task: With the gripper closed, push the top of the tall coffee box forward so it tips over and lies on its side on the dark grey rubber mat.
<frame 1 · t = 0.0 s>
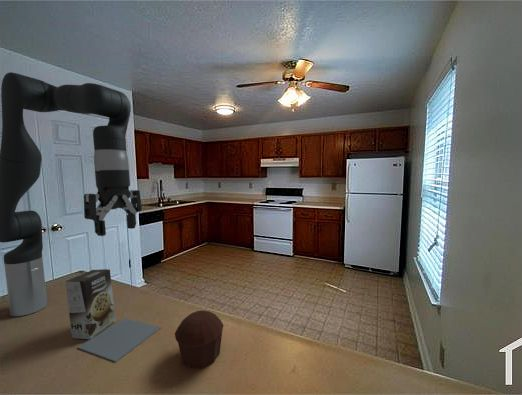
hand: (117, 231, 65), 29 cm above the countertop, tool pointing down, fingers open, 8 cm apart
muffin: (201, 355, 60), on the countertop
coffee box: (95, 329, 72), on the countertop, touching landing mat
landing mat: (121, 337, 68), on the countertop
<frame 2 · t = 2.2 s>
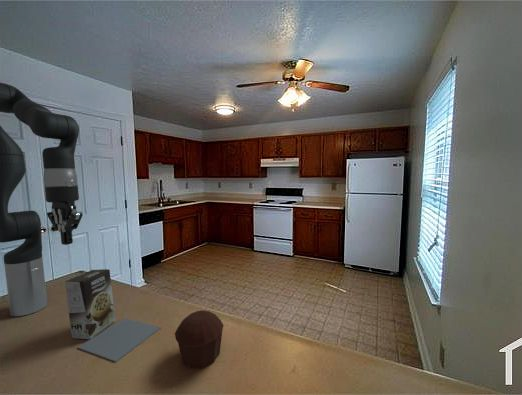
hand: (67, 243, 73), 24 cm above the countertop, tool pointing down, fingers closed
nothing on the countertop moved.
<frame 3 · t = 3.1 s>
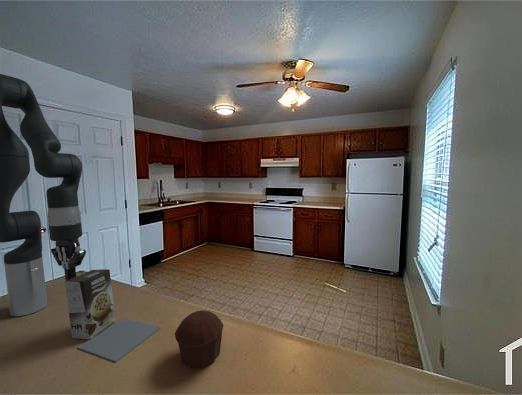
hand: (71, 280, 74), 14 cm above the countertop, tool pointing down, fingers closed
nothing on the countertop moved.
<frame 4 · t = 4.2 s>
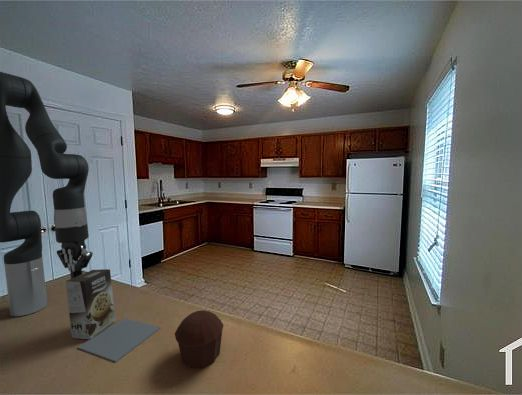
hand: (77, 282, 73), 13 cm above the countertop, tool pointing down, fingers closed
coffee box: (95, 329, 72), on the countertop, touching gripper, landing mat
everything else where it was.
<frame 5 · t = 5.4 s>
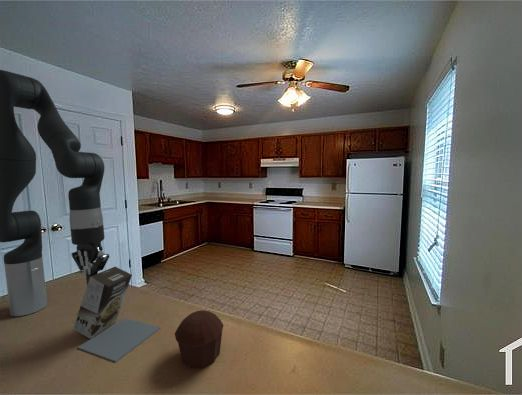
hand: (92, 285, 70), 13 cm above the countertop, tool pointing down, fingers closed
coffee box: (95, 325, 72), point 1 cm above the countertop, touching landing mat
everything else where it was.
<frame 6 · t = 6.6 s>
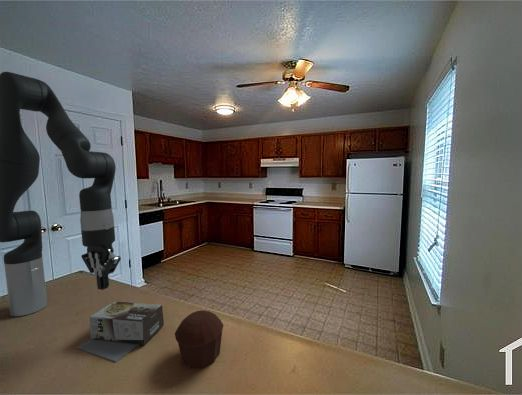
hand: (103, 288, 69), 13 cm above the countertop, tool pointing down, fingers closed
coffee box: (103, 318, 71), point 4 cm above the countertop, touching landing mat
everything else where it was.
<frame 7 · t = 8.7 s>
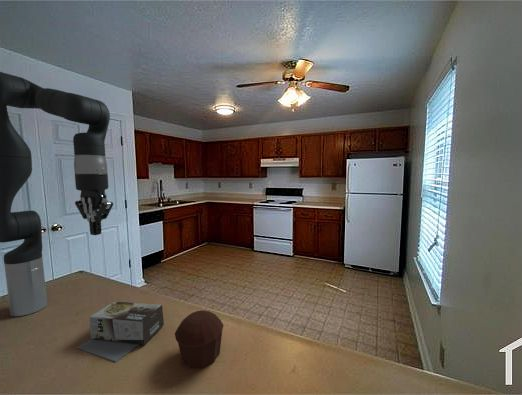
hand: (96, 234, 70), 28 cm above the countertop, tool pointing down, fingers closed
nothing on the countertop moved.
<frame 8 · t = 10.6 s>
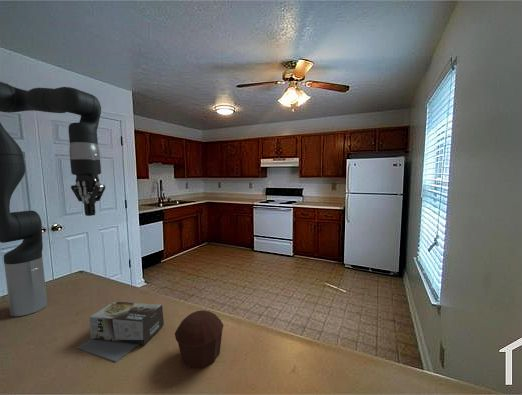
hand: (90, 215, 77), 32 cm above the countertop, tool pointing down, fingers closed
nothing on the countertop moved.
at the end: coffee box tilted 90°; coffee box touching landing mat; the gripper is holding nothing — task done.
